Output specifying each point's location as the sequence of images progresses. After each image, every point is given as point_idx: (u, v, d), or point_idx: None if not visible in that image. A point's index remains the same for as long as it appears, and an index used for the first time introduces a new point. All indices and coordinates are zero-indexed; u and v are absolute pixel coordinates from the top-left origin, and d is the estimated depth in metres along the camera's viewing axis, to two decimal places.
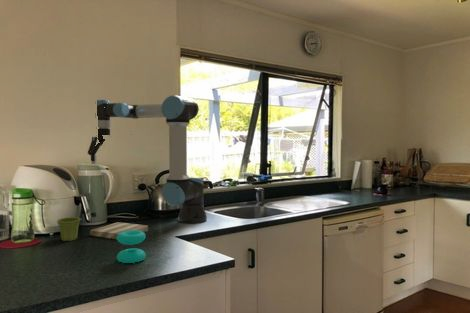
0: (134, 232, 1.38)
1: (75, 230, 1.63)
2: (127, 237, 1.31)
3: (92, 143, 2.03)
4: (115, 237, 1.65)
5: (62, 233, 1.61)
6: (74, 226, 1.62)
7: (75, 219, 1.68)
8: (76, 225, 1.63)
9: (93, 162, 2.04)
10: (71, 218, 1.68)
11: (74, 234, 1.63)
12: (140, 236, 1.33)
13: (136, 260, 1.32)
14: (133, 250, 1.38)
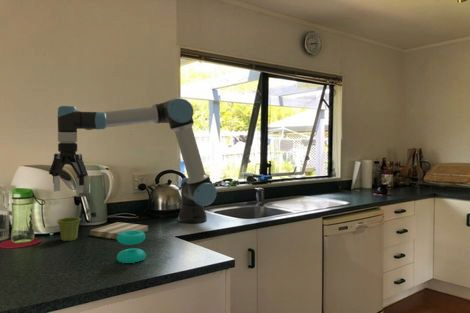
0: (134, 232, 1.38)
1: (75, 230, 1.63)
2: (127, 237, 1.31)
3: None
4: (115, 237, 1.65)
5: (62, 233, 1.61)
6: (74, 226, 1.62)
7: (75, 219, 1.68)
8: (76, 225, 1.63)
9: None
10: (71, 218, 1.68)
11: (74, 234, 1.63)
12: (140, 236, 1.33)
13: (136, 260, 1.32)
14: (133, 250, 1.38)
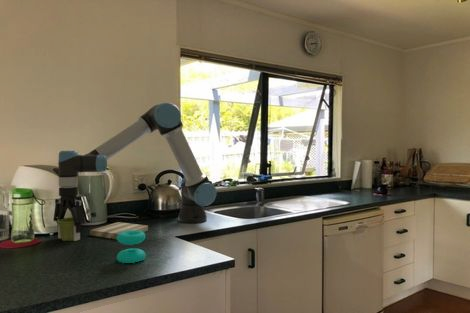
0: (134, 232, 1.38)
1: None
2: (127, 237, 1.31)
3: None
4: (115, 237, 1.65)
5: (62, 233, 1.61)
6: None
7: None
8: None
9: None
10: (71, 218, 1.68)
11: None
12: (140, 236, 1.33)
13: (136, 260, 1.32)
14: (133, 250, 1.38)
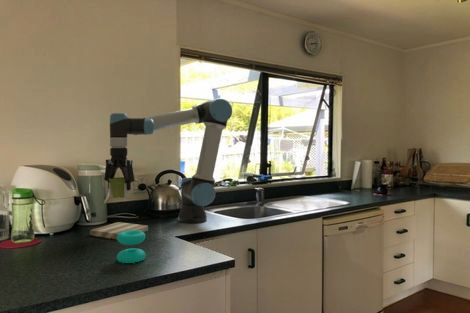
0: (134, 232, 1.38)
1: None
2: (127, 237, 1.31)
3: None
4: (114, 237, 1.65)
5: (114, 190, 1.72)
6: None
7: (124, 179, 1.79)
8: None
9: None
10: (120, 178, 1.79)
11: None
12: (140, 236, 1.33)
13: (136, 260, 1.32)
14: (133, 250, 1.38)
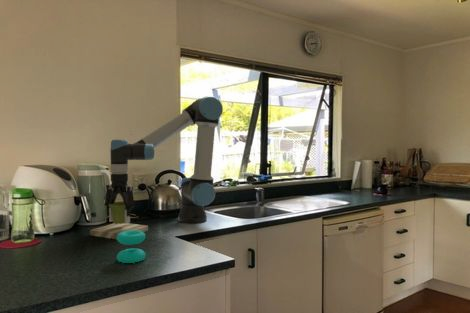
0: (134, 232, 1.38)
1: None
2: (127, 237, 1.31)
3: None
4: (114, 237, 1.65)
5: (114, 216, 1.72)
6: None
7: (124, 204, 1.79)
8: None
9: None
10: (120, 203, 1.79)
11: None
12: (140, 236, 1.33)
13: (136, 260, 1.32)
14: (133, 250, 1.38)
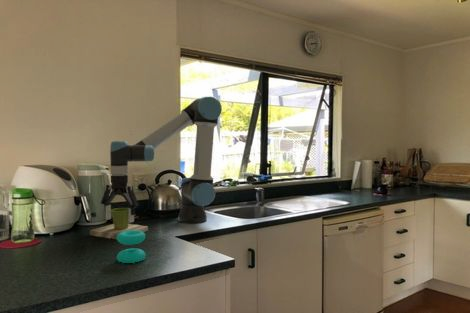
0: (134, 232, 1.38)
1: (127, 219, 1.74)
2: (127, 237, 1.31)
3: None
4: (114, 237, 1.65)
5: (115, 222, 1.73)
6: (126, 215, 1.73)
7: (125, 209, 1.79)
8: (128, 215, 1.74)
9: None
10: (121, 208, 1.80)
11: (126, 223, 1.74)
12: (140, 236, 1.33)
13: (136, 260, 1.32)
14: (133, 250, 1.38)
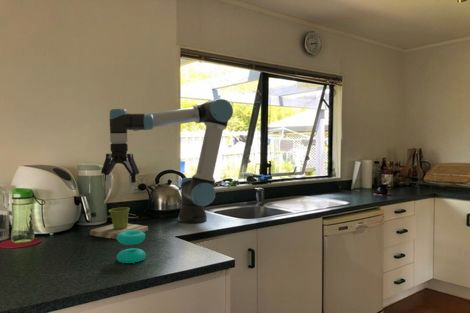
0: (134, 232, 1.38)
1: (126, 218, 1.74)
2: (127, 237, 1.31)
3: None
4: (114, 237, 1.65)
5: (115, 222, 1.72)
6: (125, 215, 1.73)
7: (123, 209, 1.79)
8: (127, 214, 1.74)
9: None
10: (119, 208, 1.79)
11: (125, 222, 1.74)
12: (140, 236, 1.33)
13: (136, 260, 1.32)
14: (133, 250, 1.38)
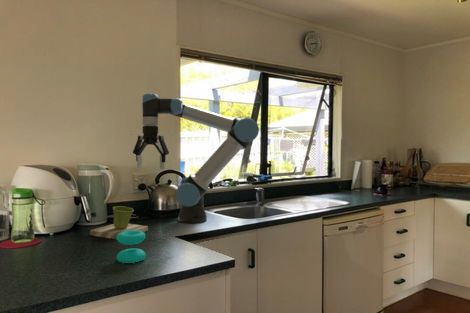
0: (134, 232, 1.38)
1: (129, 219, 1.76)
2: (127, 237, 1.31)
3: None
4: (114, 237, 1.65)
5: (119, 221, 1.72)
6: (130, 215, 1.75)
7: (123, 208, 1.79)
8: None
9: None
10: (119, 207, 1.78)
11: (128, 222, 1.75)
12: (140, 236, 1.33)
13: (136, 260, 1.32)
14: (133, 250, 1.38)
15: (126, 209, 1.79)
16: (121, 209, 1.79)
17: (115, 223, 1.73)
